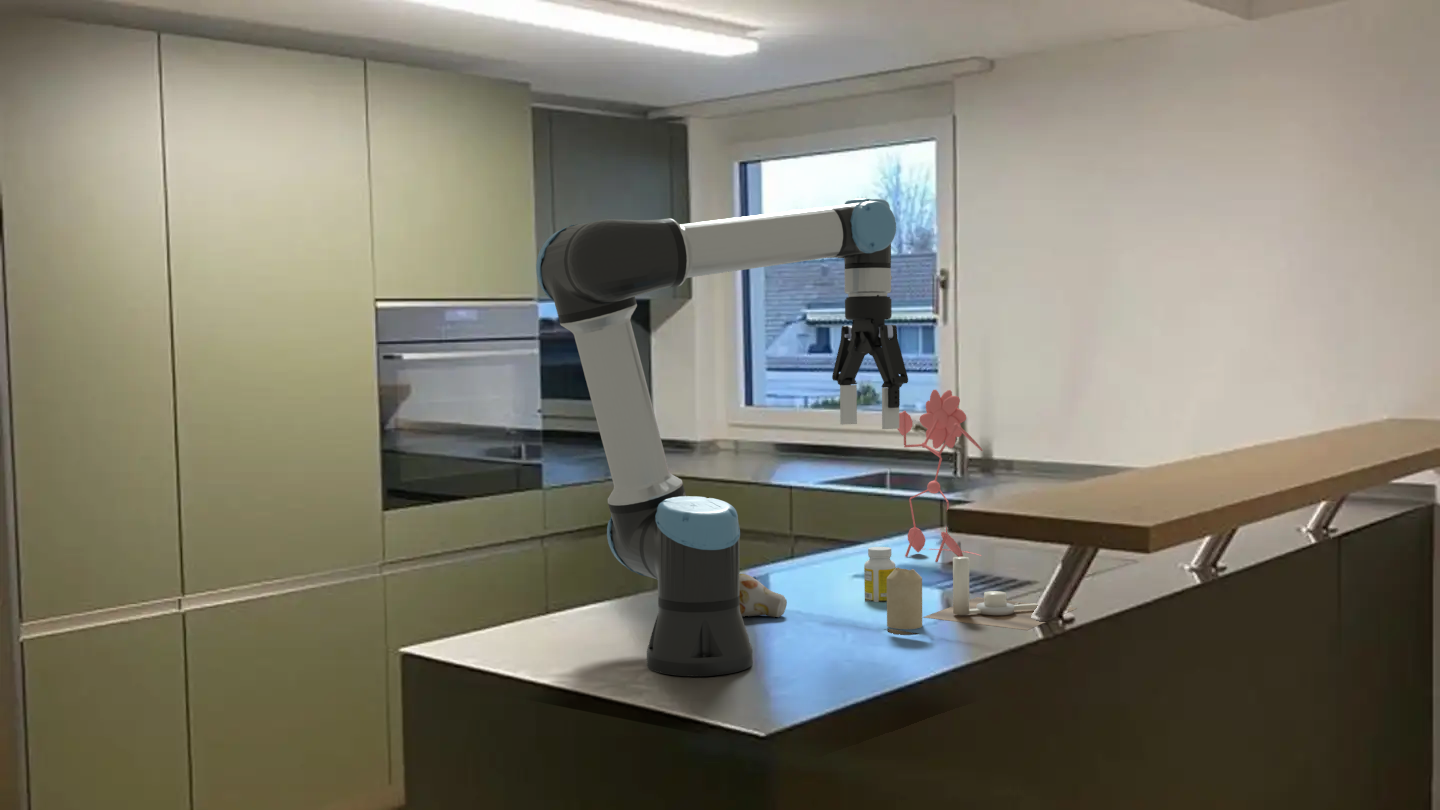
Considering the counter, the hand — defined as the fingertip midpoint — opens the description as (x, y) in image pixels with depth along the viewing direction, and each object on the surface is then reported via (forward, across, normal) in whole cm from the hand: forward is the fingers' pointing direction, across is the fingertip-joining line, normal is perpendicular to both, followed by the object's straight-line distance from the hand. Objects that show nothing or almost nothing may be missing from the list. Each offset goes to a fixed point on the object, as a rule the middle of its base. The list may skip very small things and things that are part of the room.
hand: (869, 426), depth 227 cm
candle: (+32, -10, 0) cm, 34 cm away
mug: (+32, +12, +15) cm, 37 cm away
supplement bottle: (+32, +10, -8) cm, 34 cm away
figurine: (+32, +48, -46) cm, 74 cm away
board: (+32, -9, -19) cm, 38 cm away
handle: (+31, -9, -18) cm, 37 cm away
